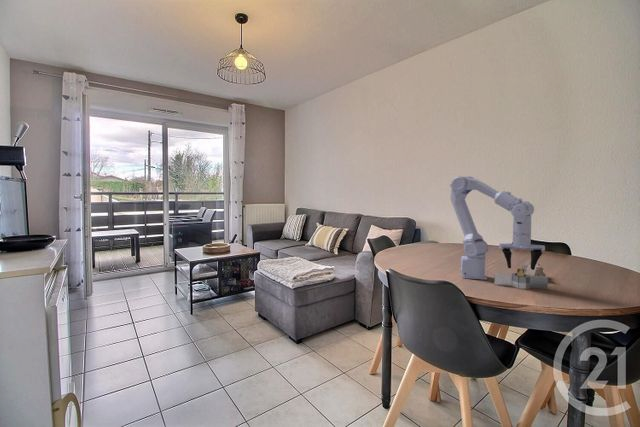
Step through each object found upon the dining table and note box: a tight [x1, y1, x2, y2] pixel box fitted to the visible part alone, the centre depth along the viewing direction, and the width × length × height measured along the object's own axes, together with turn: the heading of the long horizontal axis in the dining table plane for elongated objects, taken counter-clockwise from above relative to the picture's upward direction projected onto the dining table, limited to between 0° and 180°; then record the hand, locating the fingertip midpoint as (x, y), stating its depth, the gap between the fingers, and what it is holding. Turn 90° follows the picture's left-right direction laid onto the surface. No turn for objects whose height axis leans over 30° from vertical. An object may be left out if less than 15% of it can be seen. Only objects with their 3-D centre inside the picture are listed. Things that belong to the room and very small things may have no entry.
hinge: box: [493, 272, 549, 290], centre depth 116 cm, size 17×6×4 cm, turn 69°
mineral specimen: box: [520, 261, 547, 277], centre depth 128 cm, size 13×7×6 cm, turn 174°
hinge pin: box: [516, 267, 525, 277], centre depth 116 cm, size 2×2×7 cm
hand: (520, 268), depth 116 cm, fingers open, 7 cm apart
